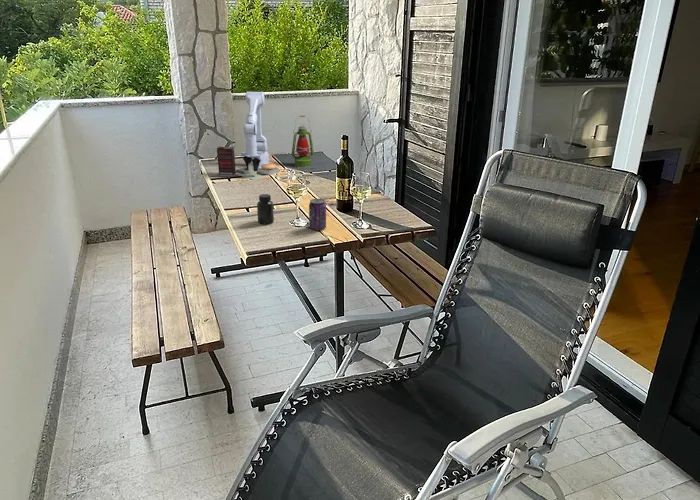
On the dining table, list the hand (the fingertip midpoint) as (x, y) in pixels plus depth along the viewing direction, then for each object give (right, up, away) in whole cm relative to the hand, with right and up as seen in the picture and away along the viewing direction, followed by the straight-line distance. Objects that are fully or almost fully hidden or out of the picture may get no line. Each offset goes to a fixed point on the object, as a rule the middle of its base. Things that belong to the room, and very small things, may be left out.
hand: (252, 170), depth 294 cm
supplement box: (-15, -2, +4) cm, 16 cm away
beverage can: (+40, -35, -71) cm, 89 cm away
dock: (-6, +1, +11) cm, 13 cm away
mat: (0, -4, +1) cm, 4 cm away
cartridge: (0, -2, +1) cm, 2 cm away
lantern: (+26, +7, +28) cm, 39 cm away
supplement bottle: (+18, -32, -66) cm, 75 cm away
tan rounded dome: (+8, 0, +10) cm, 13 cm away
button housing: (+8, 0, +10) cm, 13 cm away
